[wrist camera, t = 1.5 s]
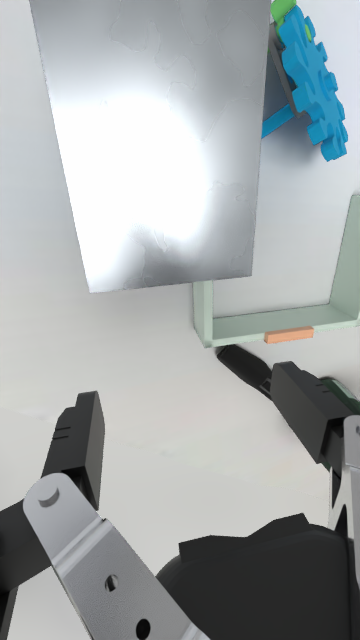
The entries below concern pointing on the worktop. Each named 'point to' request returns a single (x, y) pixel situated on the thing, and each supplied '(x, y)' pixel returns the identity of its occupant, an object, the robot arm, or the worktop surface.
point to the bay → (291, 324)
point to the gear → (305, 80)
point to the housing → (158, 133)
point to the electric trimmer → (247, 368)
